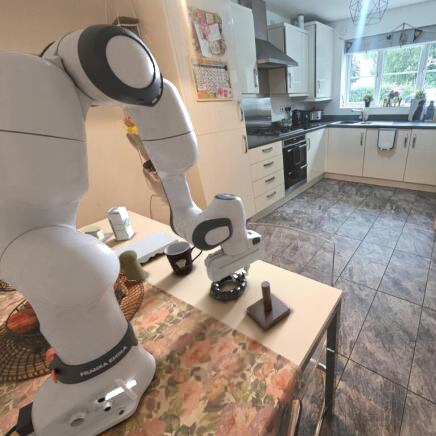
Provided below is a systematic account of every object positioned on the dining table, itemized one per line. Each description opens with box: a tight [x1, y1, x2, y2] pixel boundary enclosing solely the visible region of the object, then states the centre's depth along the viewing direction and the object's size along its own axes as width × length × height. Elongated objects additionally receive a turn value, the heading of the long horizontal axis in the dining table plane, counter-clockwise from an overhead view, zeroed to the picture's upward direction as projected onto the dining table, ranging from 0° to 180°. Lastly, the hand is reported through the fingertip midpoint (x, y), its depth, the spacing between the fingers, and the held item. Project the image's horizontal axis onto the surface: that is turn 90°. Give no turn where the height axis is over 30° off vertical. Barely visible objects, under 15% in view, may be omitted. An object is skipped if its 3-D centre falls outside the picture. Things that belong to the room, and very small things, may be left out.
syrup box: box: [105, 206, 135, 241], centre depth 112 cm, size 6×6×14 cm
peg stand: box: [246, 280, 291, 331], centre depth 69 cm, size 9×9×10 cm
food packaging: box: [113, 230, 179, 264], centre depth 102 cm, size 15×3×20 cm
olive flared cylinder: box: [119, 250, 147, 285], centre depth 85 cm, size 6×6×11 cm
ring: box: [209, 272, 248, 301], centre depth 80 cm, size 12×12×3 cm
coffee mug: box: [163, 240, 203, 277], centre depth 88 cm, size 12×9×10 cm
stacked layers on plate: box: [81, 225, 112, 243], centre depth 113 cm, size 10×9×6 cm
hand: (240, 277), depth 82 cm, fingers closed on ring, 2 cm apart
